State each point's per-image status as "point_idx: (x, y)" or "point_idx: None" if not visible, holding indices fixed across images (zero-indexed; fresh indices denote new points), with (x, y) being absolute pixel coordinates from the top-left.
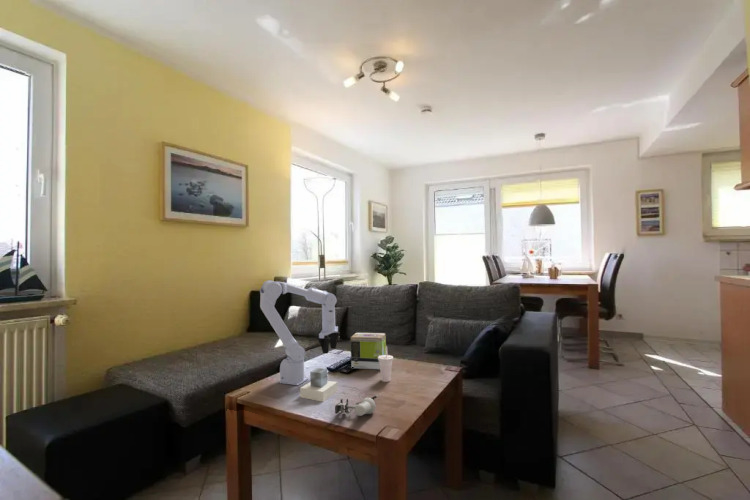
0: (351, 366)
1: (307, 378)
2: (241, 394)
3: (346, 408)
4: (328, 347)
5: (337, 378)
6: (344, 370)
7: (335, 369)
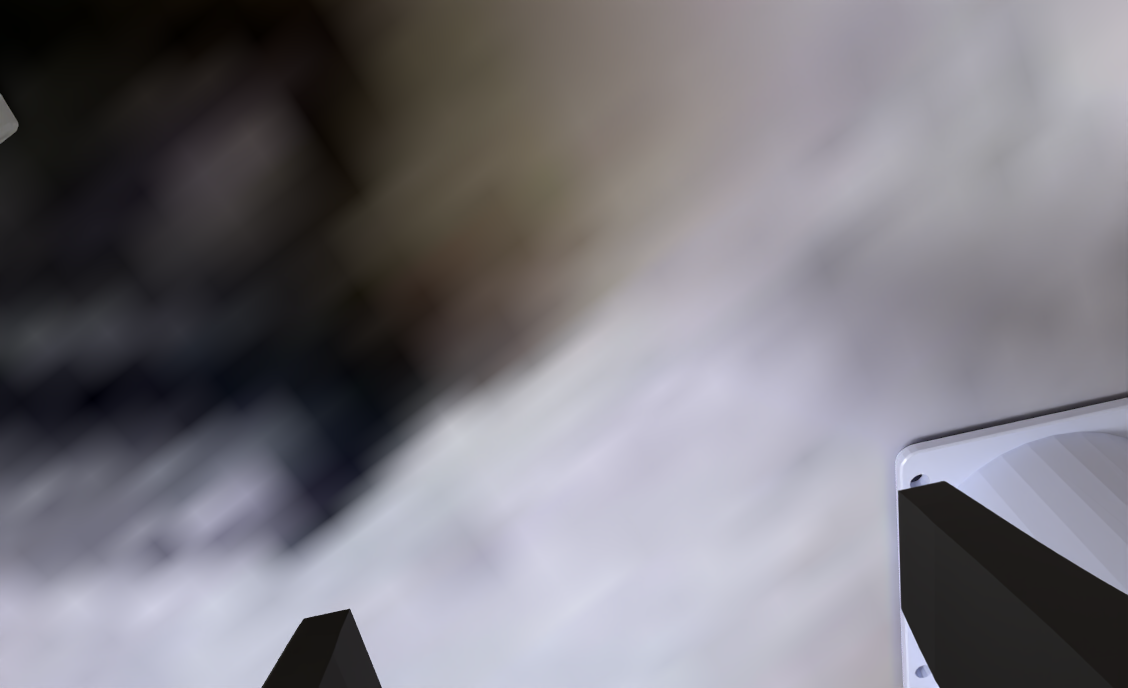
0: (4, 139)
1: (936, 447)
2: None
3: None
4: (1034, 597)
5: (677, 23)
6: (227, 183)
7: (294, 368)
